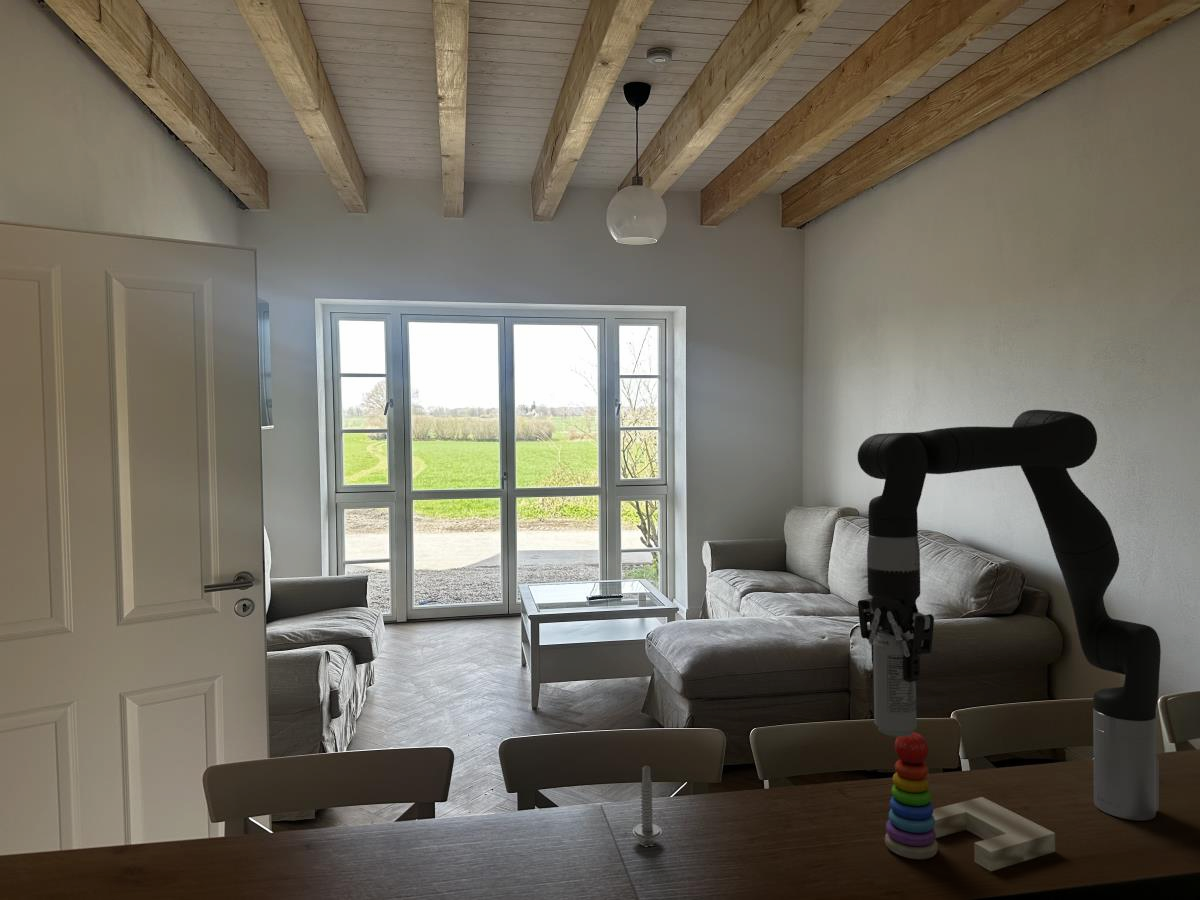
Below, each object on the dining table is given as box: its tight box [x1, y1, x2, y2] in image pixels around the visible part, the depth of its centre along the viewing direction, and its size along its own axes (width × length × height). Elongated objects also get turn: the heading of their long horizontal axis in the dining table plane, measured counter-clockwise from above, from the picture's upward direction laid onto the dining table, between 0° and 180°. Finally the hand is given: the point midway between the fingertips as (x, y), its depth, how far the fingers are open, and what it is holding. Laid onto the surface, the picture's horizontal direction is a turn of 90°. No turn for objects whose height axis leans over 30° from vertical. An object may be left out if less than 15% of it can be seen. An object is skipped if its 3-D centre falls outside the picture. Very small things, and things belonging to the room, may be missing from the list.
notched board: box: [932, 796, 1056, 872], centre depth 130 cm, size 14×14×3 cm
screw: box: [632, 765, 663, 846], centre depth 131 cm, size 13×5×5 cm
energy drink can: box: [873, 630, 918, 738], centre depth 121 cm, size 6×6×15 cm
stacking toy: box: [884, 731, 939, 860], centre depth 128 cm, size 8×8×19 cm
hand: (894, 674), depth 121 cm, fingers closed on energy drink can, 6 cm apart
